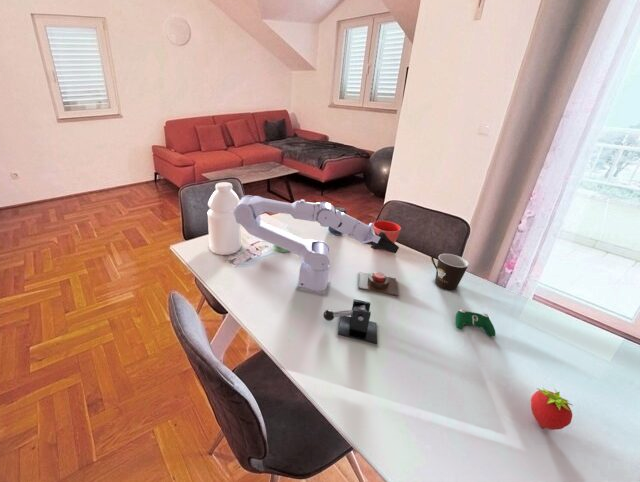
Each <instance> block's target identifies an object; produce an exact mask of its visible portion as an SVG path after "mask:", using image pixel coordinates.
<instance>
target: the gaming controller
mask: <svg viewBox="0 0 640 482" xmlns="http://www.w3.org/2000/svg"><path fill="white" fill-rule="evenodd" d="M465 325H466V326H473V327H477V328H482V330H483V331H484V332H485V333H486V334H487V335H488V336H489V337H496V329H495V327H494V325H493V323H492V321H491V319H490V317H489V314H488V313H477V312H473V311H467V310H466V309H458V310H457V312H456V314H455V326H456V329H458V330H460V331H461V330H463V329H464V326H465Z"/></svg>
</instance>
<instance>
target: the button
mask: <svg viewBox="0 0 640 482" xmlns="http://www.w3.org/2000/svg"><path fill="white" fill-rule="evenodd" d="M373 273H374V275H373V279H374V280H375V281H377V282H384V280H385V276H386V275H385V274H384V273H383V272H380V271H375V272H373Z"/></svg>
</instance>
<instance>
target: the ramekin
mask: <svg viewBox="0 0 640 482" xmlns="http://www.w3.org/2000/svg"><path fill="white" fill-rule="evenodd" d="M273 247H274V249H275V250H276V251H278V252H282V253H288V252H290V251H288V250H286V249H283V248H281V247H279V246H276V245H274V244H273Z"/></svg>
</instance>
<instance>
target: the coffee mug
mask: <svg viewBox="0 0 640 482" xmlns="http://www.w3.org/2000/svg"><path fill="white" fill-rule="evenodd" d="M436 256H437V264H436V262H435V259H434V257H436ZM431 262H432V265H433V266H434V268H435V269H436V272H435V278H434V284H435V285H436V286H437V287H438V288H440V289H442V290H445V291H450V292H453V291H457V288H458V286H459V285H460V282H461V281H462V279H463V277H464V275H465V273H466V272H467V269H468V267H469V265H470V263H469V261H468V260H466V258H464V257H462V256H459V255H456V254H452V253H441V254H438V253H432V254H431Z"/></svg>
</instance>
